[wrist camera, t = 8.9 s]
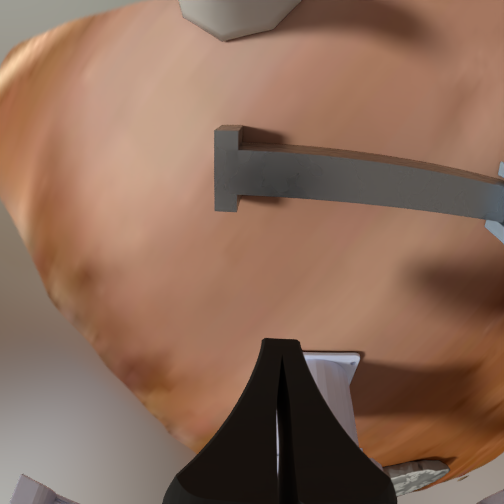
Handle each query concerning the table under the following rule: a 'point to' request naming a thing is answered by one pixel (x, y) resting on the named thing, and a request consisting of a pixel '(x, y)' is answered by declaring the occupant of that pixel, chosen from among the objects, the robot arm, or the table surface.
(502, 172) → the block
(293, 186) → the rail
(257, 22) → the flask
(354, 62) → the table surface
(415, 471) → the brain slice
